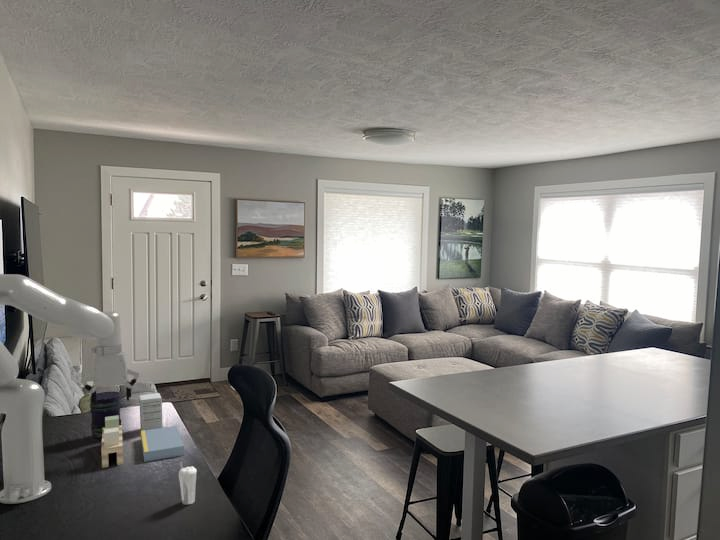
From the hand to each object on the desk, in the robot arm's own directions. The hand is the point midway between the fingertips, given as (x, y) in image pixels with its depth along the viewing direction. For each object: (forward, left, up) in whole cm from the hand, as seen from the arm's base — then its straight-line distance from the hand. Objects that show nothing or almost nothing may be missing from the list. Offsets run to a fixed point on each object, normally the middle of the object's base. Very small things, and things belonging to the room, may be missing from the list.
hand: (111, 401), depth 178 cm
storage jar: (+19, +2, -17) cm, 26 cm away
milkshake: (-46, -18, -17) cm, 52 cm away
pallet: (0, 0, -17) cm, 17 cm away
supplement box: (+19, -13, -17) cm, 28 cm away
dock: (-1, -15, -17) cm, 22 cm away
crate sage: (+6, 0, -11) cm, 13 cm away
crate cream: (-7, 0, -11) cm, 13 cm away
